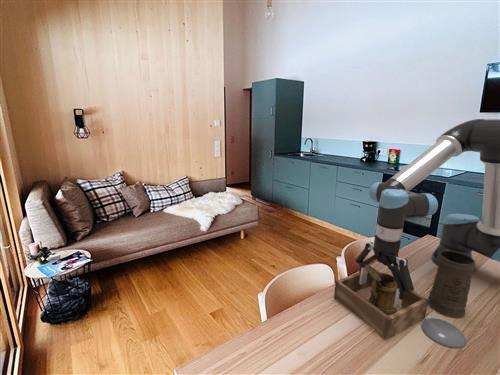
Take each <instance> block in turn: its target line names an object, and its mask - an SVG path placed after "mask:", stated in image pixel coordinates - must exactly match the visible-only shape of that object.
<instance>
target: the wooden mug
mask: <svg viewBox="0 0 500 375" xmlns="http://www.w3.org/2000/svg"><path fill="white" fill-rule="evenodd" d="M365 268H366V269H367V271H368V272H369V273H370V275H371V276H372V277H373V278H374V280H373V282H372V284H371V286H370V293H371V294H370V296H369V298H368V300H367V301H368V302H369V303H371V304H372V305H374V306H375V307H376V308H378V309H379V310H381V311H382V312H383V313H385V314H386V315H388V316H390V315H392V314H394V313H396V312H397V311H398V307H397V308H395V307H394V302H395V296H396V290H397V283H396V281H395V279H394V277H393V275H392V274H388V273H383V272H381V273H382V274H379V273H378V272H377V271H378V270H377V269H376V268H374V267H372V265H369V264H368V265H365ZM373 268H374V269H373ZM375 269H376V270H377V271H376V270H375Z"/></svg>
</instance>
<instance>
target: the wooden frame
mask: <svg viewBox="0 0 500 375" xmlns="http://www.w3.org/2000/svg"><path fill="white" fill-rule="evenodd" d="M372 268H373V269H375V270H376V271H377V272H378V273H379V274H382V273H383V272H381V271H379V270H377V269H376V268H374V267H372ZM360 275H361V274H359V272H357V273H354V274H352V275H348V276H346V277H343V278H341V279H338V280H335V283H334V284H335V286H334V294H333V299H334V300H336V301H337V302H338V303H340V304H341V305H342V306H343V307H345V308H346V309H347V310H348V311H349V312H351V313H352V314H353V315H354V316H356V317H357V318H358V319H360V321H362V322H364V323H365V324H366V325H367V326H368V327H370V328H371V329H372V330H374V332H376V333H377V334H378V335H380V336H381V337H382V338H383V339H385V341H386V340H388V339H390V338H392V337H394V336H396V335H397V334H399V333H402V332H403V331H404V330H406V329H408V328H410V327H412V326H414V325H415V324H417V323H419V322H420V321H423V320H425V319H426V314H427V311H428V305H429V304H428V301H429V300H428V298H426V297H424V296H423V295H421V294H419V293H418V292H416V291H414V290H413V291H411V292H409V293H407V292H406V297H405V299H403V300H402V304H401V306H402V307H403V308H402V309H400V310H397V311H396V312H395V313H394V314H391V315H386V314H385V313H383V312H382V311H381V310H379V309H378V308H376V307H375V306H374V305H372V304H371V303H369V302H368V301H369V300H366V299H365V298H364V297H363V296H361V295H360V294H358V293H357V292H359V291H362V290H364V289H366V288H369V287H371V284H372V282H373V280H374V278H373V277H372V276H371V275H370V273H369V272H368V273H367V280H366V283H364V284H362V285H360V284H359V282H360ZM398 288H399V287H398V285H397V289H398ZM396 291H397V290H396ZM401 306H400V307H401Z"/></svg>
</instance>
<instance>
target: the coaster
mask: <svg viewBox="0 0 500 375" xmlns="http://www.w3.org/2000/svg"><path fill="white" fill-rule="evenodd" d="M421 329H422V332H423V333H424V334H425V335H426V337H427V338H428V339H430V340H432V341H433V342H435V343H437V344H438V345H440V346H443V347H446V348H451V349H460V348H462V347H464V346H465V344H466V337H465V334H464V333H463V331H462V330H461V329H459V328H458V327H457V326H456V325H455V324H452V323H450V322H448V321H446V320H443V319H440V318H436V317H428V318H424V319H422V322H421Z"/></svg>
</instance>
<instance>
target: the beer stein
mask: <svg viewBox="0 0 500 375" xmlns="http://www.w3.org/2000/svg"><path fill="white" fill-rule="evenodd" d="M438 261H439V264H438V265H437V269H436V274H435V276H434V279H433V284H432V288H431V289H430V291H429V296H428V298H427V299H428V300H429V301H428V305H429V307H430V308H431V309H433V310H434V311H436V312H437V313H438V314H441V315H443V316H445V317H449V318H454V319H455V318H462V317H464V316H465V314H466V307H467V303H468V299H469V297H468V296H469V293H470V288H471V284H472V276H473V273H474V270H475V269H476V261H475V259H474V258H473V259H472V258H471V257H469V256H467V255H465V254H462V253H459V252H455V251H450V250H445V251H441V252H440V253H439V255H438Z"/></svg>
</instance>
